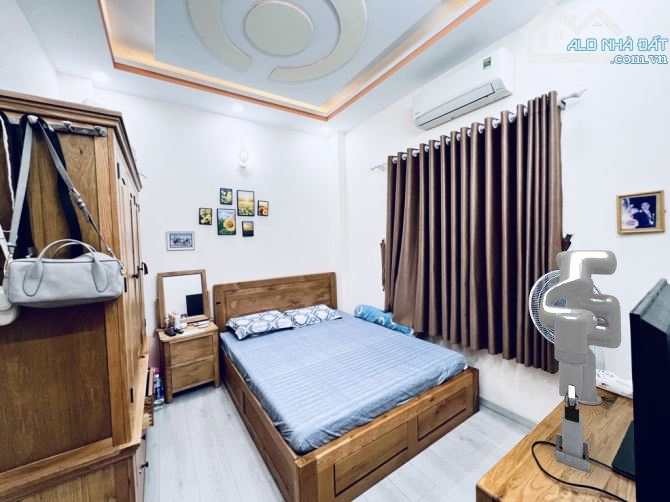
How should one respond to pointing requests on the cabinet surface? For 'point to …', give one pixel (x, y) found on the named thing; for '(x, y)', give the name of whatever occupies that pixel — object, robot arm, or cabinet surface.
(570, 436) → the skincare box
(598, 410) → the cabinet surface
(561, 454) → the socket collar
